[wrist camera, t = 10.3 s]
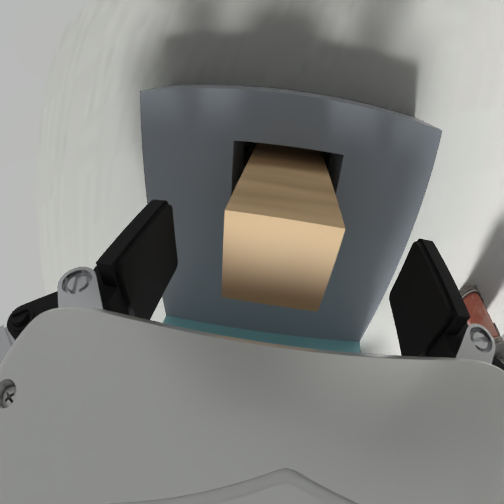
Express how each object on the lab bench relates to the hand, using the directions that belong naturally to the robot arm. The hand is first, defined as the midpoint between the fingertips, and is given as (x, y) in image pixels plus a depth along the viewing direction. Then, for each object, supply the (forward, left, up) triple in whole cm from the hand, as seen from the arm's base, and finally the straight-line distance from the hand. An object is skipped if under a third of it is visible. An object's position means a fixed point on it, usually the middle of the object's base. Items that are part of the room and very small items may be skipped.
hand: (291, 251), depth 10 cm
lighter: (+11, +21, -10) cm, 26 cm away
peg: (0, 0, -10) cm, 10 cm away
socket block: (+4, -1, -9) cm, 10 cm away
